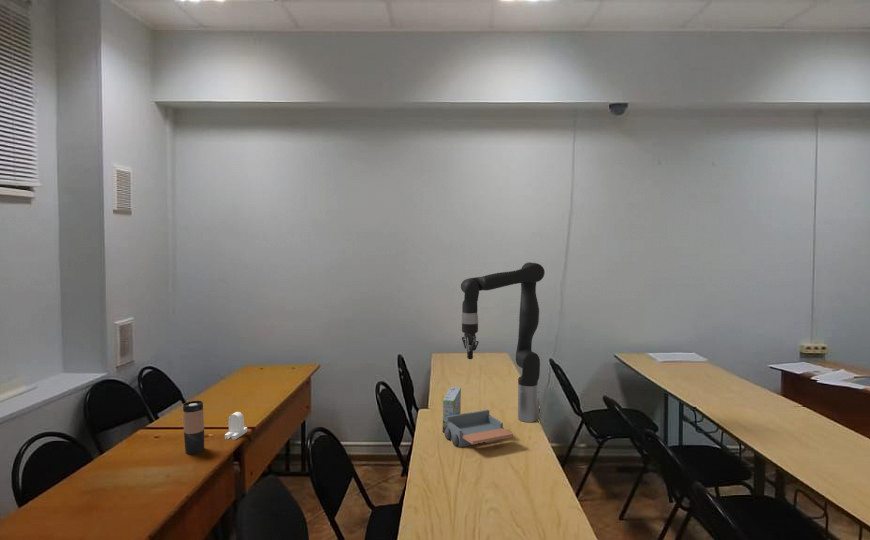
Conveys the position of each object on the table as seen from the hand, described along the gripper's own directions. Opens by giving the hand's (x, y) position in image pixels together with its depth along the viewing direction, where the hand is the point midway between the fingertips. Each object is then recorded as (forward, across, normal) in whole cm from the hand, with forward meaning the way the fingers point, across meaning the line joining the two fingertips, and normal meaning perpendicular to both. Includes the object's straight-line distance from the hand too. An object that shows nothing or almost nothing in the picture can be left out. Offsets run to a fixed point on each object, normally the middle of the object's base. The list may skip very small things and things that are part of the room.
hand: (470, 358), depth 240 cm
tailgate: (+26, -23, +6) cm, 35 cm away
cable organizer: (+31, +32, +101) cm, 111 cm away
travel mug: (+31, +21, +118) cm, 124 cm away
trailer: (+31, -16, +6) cm, 35 cm away
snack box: (+31, +3, +8) cm, 32 cm away
